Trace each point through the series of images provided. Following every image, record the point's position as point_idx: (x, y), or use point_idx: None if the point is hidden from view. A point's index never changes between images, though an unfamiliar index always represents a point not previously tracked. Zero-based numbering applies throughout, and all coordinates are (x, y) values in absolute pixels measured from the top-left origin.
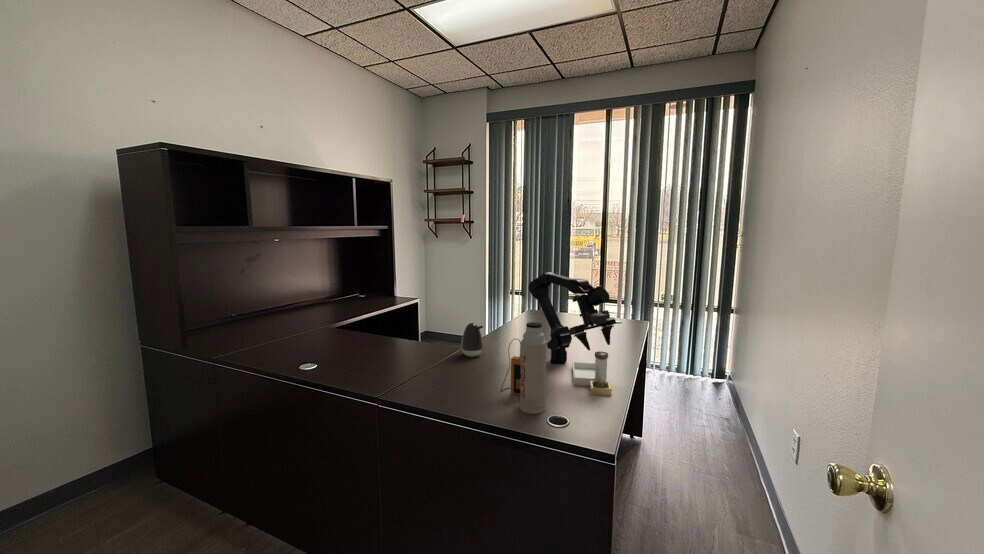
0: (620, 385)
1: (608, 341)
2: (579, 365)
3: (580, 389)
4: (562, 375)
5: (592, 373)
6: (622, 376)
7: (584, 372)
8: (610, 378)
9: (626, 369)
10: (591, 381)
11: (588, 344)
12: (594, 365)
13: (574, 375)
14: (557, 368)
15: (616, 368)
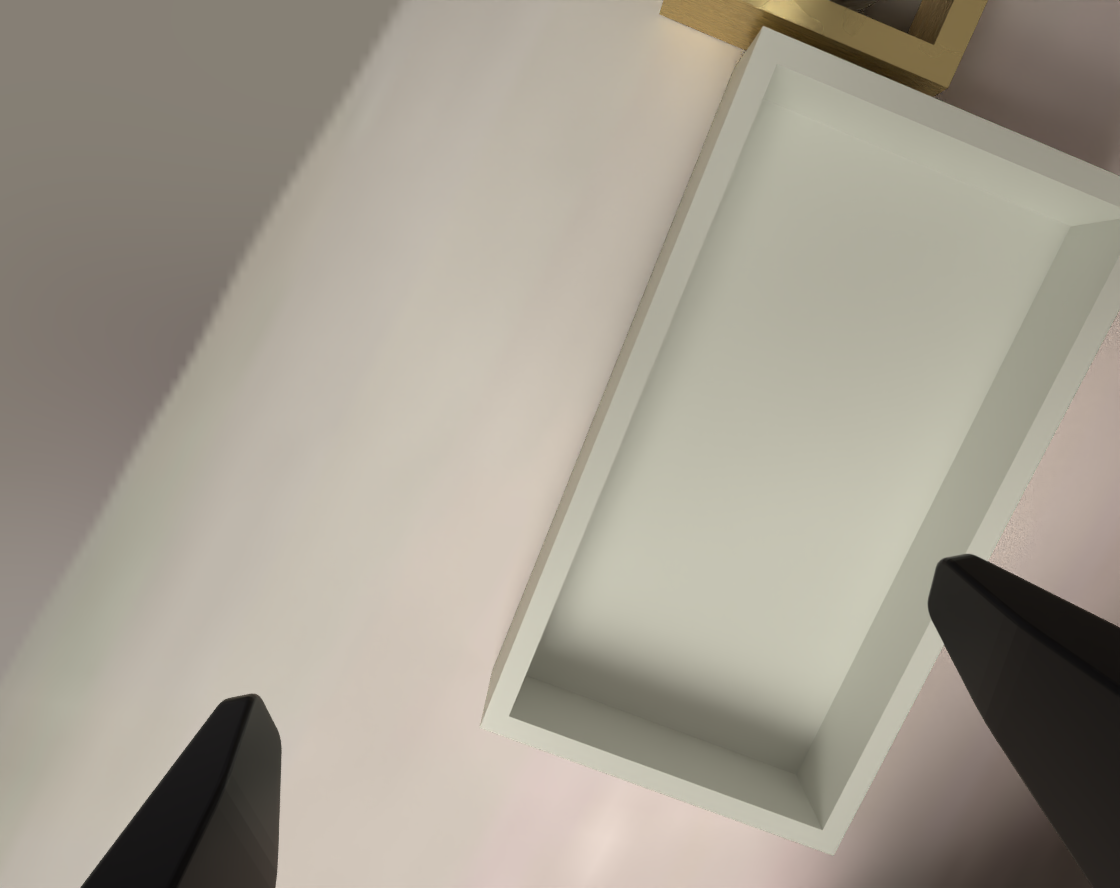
0: (440, 88)
1: (228, 779)
2: (733, 774)
3: (1070, 55)
4: (1049, 587)
5: (643, 533)
6: (254, 400)
7: (734, 589)
8: (455, 362)
9: (81, 629)
10: (945, 38)
11: (1091, 657)
12: (534, 707)
13: (1118, 289)
14: (987, 829)
15: (201, 687)
